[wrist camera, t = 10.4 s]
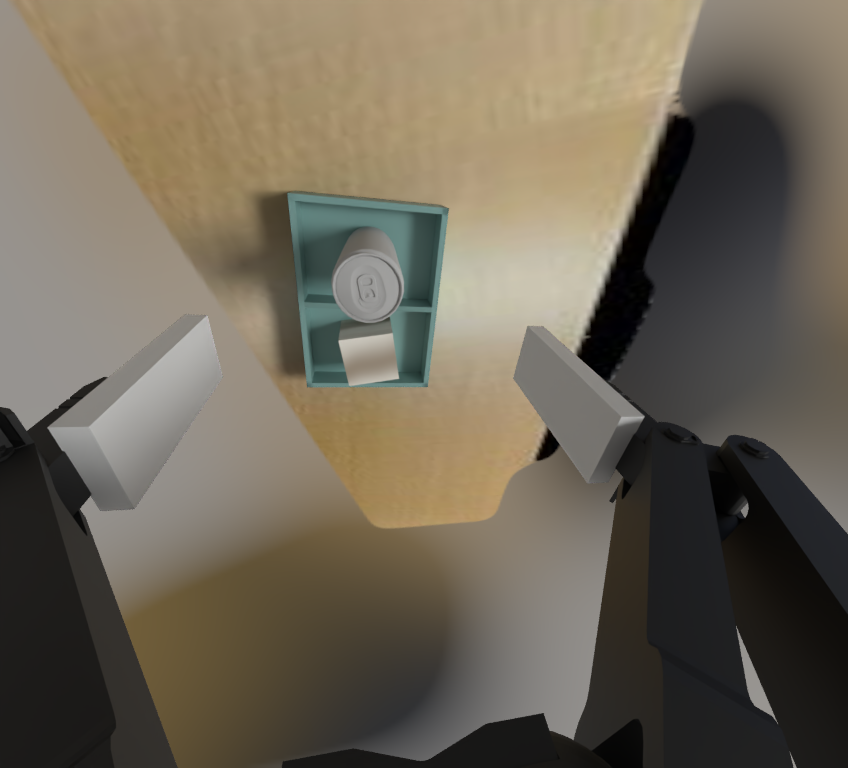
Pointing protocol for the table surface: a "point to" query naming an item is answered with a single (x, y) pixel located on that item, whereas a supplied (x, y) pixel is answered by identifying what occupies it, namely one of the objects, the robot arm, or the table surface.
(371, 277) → the beverage can
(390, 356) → the cream block
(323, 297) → the box
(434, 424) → the table surface
